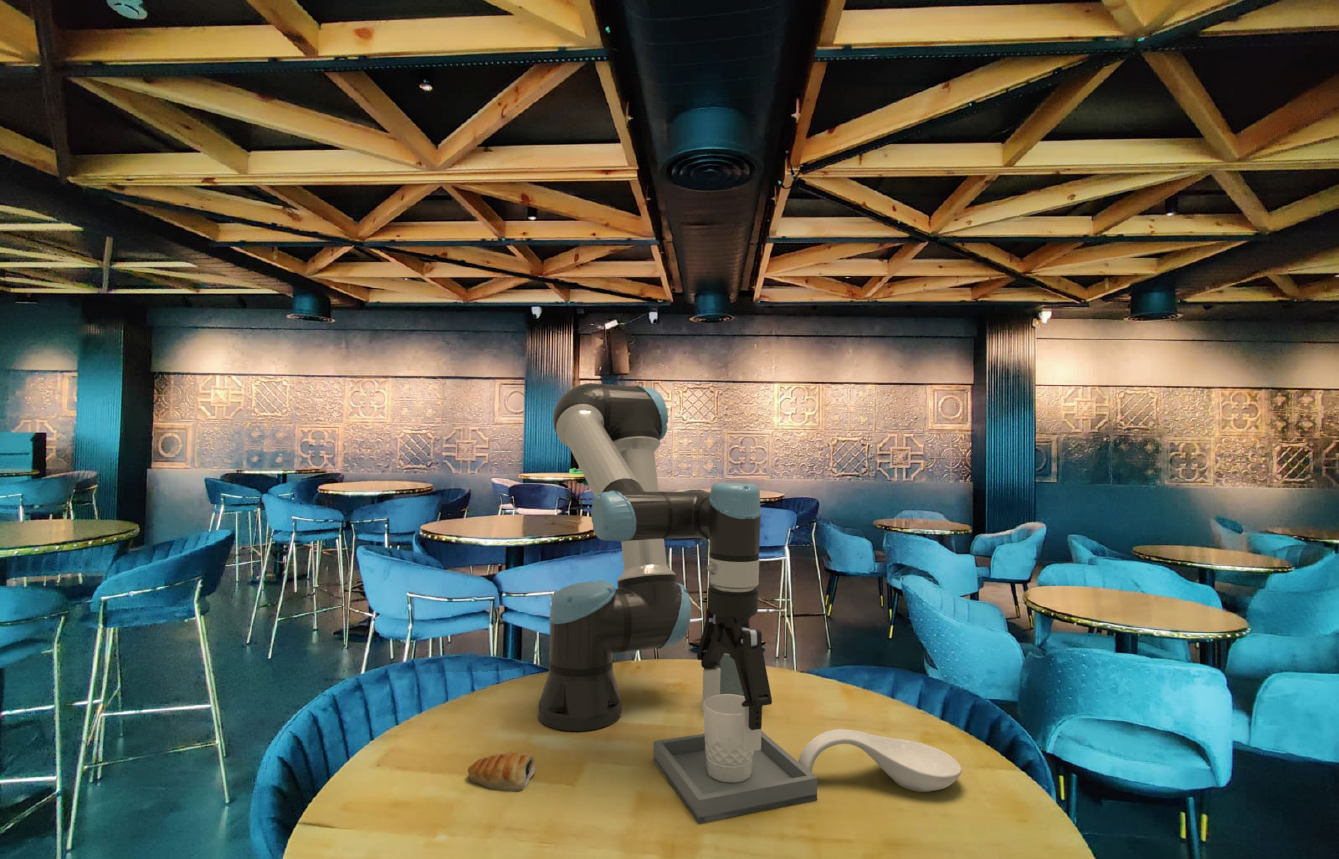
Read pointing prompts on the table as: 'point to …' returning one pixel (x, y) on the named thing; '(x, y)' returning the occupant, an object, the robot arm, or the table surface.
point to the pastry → (503, 771)
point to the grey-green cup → (729, 676)
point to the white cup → (725, 739)
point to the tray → (712, 800)
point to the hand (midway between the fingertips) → (729, 729)
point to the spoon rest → (892, 758)
